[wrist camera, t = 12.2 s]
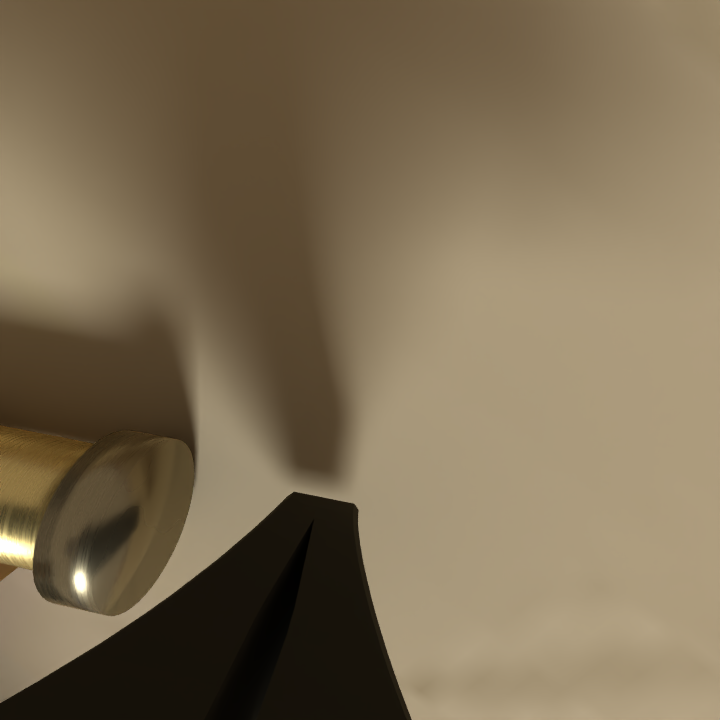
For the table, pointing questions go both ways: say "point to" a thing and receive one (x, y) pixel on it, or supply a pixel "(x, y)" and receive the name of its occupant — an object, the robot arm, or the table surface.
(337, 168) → the table surface
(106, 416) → the table surface
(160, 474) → the lock pin
